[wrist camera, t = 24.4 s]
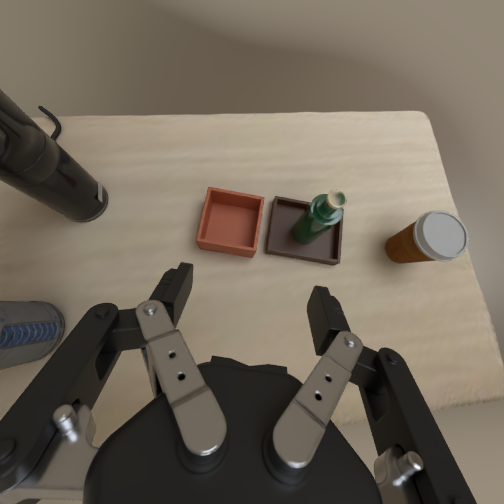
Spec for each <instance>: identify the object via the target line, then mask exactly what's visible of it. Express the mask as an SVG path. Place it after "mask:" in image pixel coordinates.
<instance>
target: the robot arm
mask: <svg viewBox="0 0 504 504" xmlns="http://www.w3.org/2000/svg"><path fill="white" fill-rule="evenodd" d="M38 108H39V109H40V110H41V111H42V112H44V113H45V114H46V115H48V116H49V117H50V118H51V119H52V120H53V121H54V122H55V124H56V129H55V131H54V132H53V134H52V135H51V137H50V136H48V135H47V134H46V133H45V132H44V131H43V130H42V129H41V128H40V127H39V126H38V125H37V124H36V123H35V122H34V121H33V120H32V119H30V118H29V117H28V116H27V115H26V114H25V113H24V112H23V111H22V110H21V109H20V108H19V107H18V106H17V105H16V104H15V103H14V102H13V101H12V100H11V99H10V98H9V97H8V96H7V95H6V94H5V93H4V92H3V91H2V90H1V89H0V180H1V181H3V182H5V183H6V184H8V185H10V186H12V187H14V188H15V189H17V190H19V191H21V192H23V193H24V194H26V195H28V196H30V197H32V198H33V199H35V200H37V201H39V202H41V203H42V204H44V205H46V206H48V207H50V208H51V209H53V210H55V211H57V212H59V213H60V214H62V215H64V216H65V217H67V218H68V219H70V220H72V221H76V222H87V221H90V220H93V219H95V218H97V217H98V216H100V215H101V214H102V213H103V211H104V210H105V209H106V207H107V204H108V194H107V191H106V190H105V188H104V187H103V186H102V185H101V184H100V183H99V182H97V181H96V180H95V179H94V178H93V177H92V176H91V175H90V174H89V173H88V172H87V171H86V170H85V169H83V168H82V167H81V166H80V165H79V164H78V163H77V162H76V161H75V160H74V159H73V158H72V157H71V156H70V155H69V154H68V153H67V152H66V151H64V150H63V149H62V148H61V147H60V146H59V145H58V144H57V143H56V142H55V139H56V137H57V136H58V134H59V133H60V130H61V125H60V123H59V121H58V120H57V118H56V117H55V116H54V115H53V114H51V113H50V112H49V111H47V110H46V109H45V108H43V107H42V106H39V107H38ZM192 282H193V264H190V263H184V262H181V263H180V265H179V267H178V269H172V268H171V269H170V270H168V271H167V272H165V274H164V275H163V277H162V279H161V280H160V282H159V284H158V285H157V287H156V288H155V290H154V291H153V293H152V295H151V296H150V298H149V300H148V301H144V302H142V303H141V304H139V305H138V306H137V308H134V309H125V310H118V307H117V306H116V305H114V304H112V303H101V304H98V305H95V306H93V307H92V308H90V309H89V310H88V311H87V313H86V314H85V315H84V316H83V318H82V319H81V320H80V321H79V323H78V324H77V325H76V326H75V328H74V329H73V330H72V331H71V333H70V334H69V335H68V336H67V338H66V339H65V340H64V342H63V343H62V344H61V345H60V347H59V348H58V349H57V350H56V352H55V353H54V354H53V355H52V357H51V358H50V359H49V360H48V362H47V363H46V364H45V365H44V367H43V368H42V369H41V370H40V372H39V373H38V374H37V376H36V377H35V378H34V379H33V381H32V382H31V383H30V384H29V386H28V387H27V388H26V389H25V391H24V392H23V393H22V394H21V396H20V397H19V398H18V399H17V401H16V402H15V403H14V405H13V406H12V407H11V408H10V410H9V411H8V412H7V413H6V415H5V416H4V417H3V418H2V420H1V421H0V504H36V503H37V502H38V501H40V500H41V499H57V500H83V504H477V503H476V501H475V499H474V497H473V495H472V493H471V491H470V489H469V487H468V485H467V483H466V481H465V479H464V477H463V475H462V473H461V471H460V469H459V467H458V465H457V463H456V461H455V459H454V457H453V455H452V453H451V451H450V449H449V447H448V445H447V443H446V441H445V439H444V437H443V435H442V434H441V432H440V430H439V428H438V426H437V424H436V422H435V420H434V418H433V416H432V414H431V412H430V410H429V408H428V406H427V404H426V402H425V400H424V398H423V396H422V394H421V392H420V390H419V388H418V386H417V384H416V382H415V380H414V378H413V376H412V374H411V372H410V370H409V368H408V366H407V364H406V362H405V360H404V359H403V358H402V357H401V356H400V355H399V354H398V353H397V352H395V351H394V350H392V349H389V348H381V349H380V350H379V351H378V352H377V351H374V350H372V349H370V348H367V347H365V346H363V344H362V342H361V340H360V339H359V338H358V337H357V336H356V335H355V334H353V333H351V331H350V328H349V326H348V323H347V320H346V318H345V315H344V313H343V310H342V308H341V305H340V303H339V301H338V300H337V299H336V298H335V297H334V296H331V295H330V293H329V290H328V288H327V287H322V286H315V287H314V289H313V291H312V294H311V296H310V298H309V301H308V304H307V314H308V319H309V324H310V328H311V333H312V338H313V342H314V347H315V352H316V355H318V356H322V357H321V359H320V360H319V362H318V363H317V365H316V366H315V368H314V369H313V371H312V372H311V374H310V375H309V377H308V378H307V380H306V381H305V383H304V384H302V383H301V382H300V381H299V380H298V379H296V378H295V377H293V376H292V375H290V374H287V367H284V366H277V365H270V364H266V365H256V366H248V365H245V364H243V363H240V362H238V361H236V360H233V359H231V358H224V357H218V356H212V358H211V362H205V363H201V364H198V365H196V363H195V361H194V359H193V357H192V355H191V353H190V351H189V349H188V347H187V345H186V343H185V340H184V338H183V336H182V334H181V332H180V331H179V330H175V328H176V326H177V323H178V321H179V319H180V316H181V314H182V311H183V309H184V306H185V304H186V302H187V299H188V297H189V294H190V292H191V288H192ZM138 348H140V350H141V353H142V356H143V359H144V362H145V366H146V369H147V372H148V375H149V379H150V384H151V389H152V392H153V396H154V399H153V400H152V401H151V402H150V403H148V404H147V405H146V406H145V407H144V408H142V409H141V410H140V411H139V412H138V413H136V414H135V415H134V416H133V417H132V418H131V419H129V420H128V421H127V422H126V423H125V424H123V425H122V426H121V427H120V428H119V429H117V430H116V431H115V432H114V433H113V434H112V435H110V436H109V437H108V438H107V439H106V441H105V442H104V443H103V444H102V445H101V447H100V448H97V447H94V446H93V445H92V442H93V438H94V435H95V431H96V424H95V421H94V418H93V416H92V413H91V410H92V408H93V406H94V404H95V402H96V400H97V398H98V396H99V394H100V392H101V391H102V389H103V387H104V385H105V383H106V381H107V379H108V377H109V375H110V373H111V371H112V369H113V368H114V366H115V364H116V362H117V360H118V358H119V356H120V354H121V352H122V351H124V350H131V349H138ZM348 381H349V382H351V383H354V384H356V385H358V387H359V390H360V394H361V397H362V401H363V404H364V408H365V411H366V415H367V418H368V422H369V425H370V429H371V432H372V436H373V439H374V443H375V446H376V450H377V453H378V458H377V459H376V460H375V462H374V474H375V479H374V477H373V476H372V474H371V472H370V471H369V469H368V468H367V466H366V465H365V464H364V462H363V461H362V460H361V459H360V457H359V456H358V455H357V453H356V452H355V451H354V449H353V448H352V447H351V446H350V444H349V443H348V442H347V440H346V439H345V438H344V436H343V435H342V434H341V432H340V431H339V430H338V428H337V427H336V426H335V425H334V423H333V422H332V421H331V419H330V418H331V416H332V414H333V412H334V410H335V408H336V406H337V404H338V402H339V400H340V397H341V395H342V393H343V391H344V389H345V387H346V385H347V383H348Z"/></svg>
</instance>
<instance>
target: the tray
mask: <svg viewBox="0 0 504 504" xmlns="http://www.w3.org/2000/svg"><path fill="white" fill-rule="evenodd" d="M309 204H310V202H305V201H299V200H294V199H289V198H283V197H278V196H275V198H274V201H273V206H272V213H271V220H270V226H269V233H268V240H267V247H266V253H267V254H273V255H279V256H284V257H290V258H296V259H302V260H307V261H313V262H319V263H324V264H330V265H336V264H339V263H340V256H341V240H342V225H343V215H342V218H341V219H340V221H339V222H338V223H336V224H335V225H334V226H332V227H331V228H330V229H329V230H327V231H326V232H325V233H324V234H322V235H321V236H320V237H319V238H317V239H316V240H315V241H314V242H312V243H311V244H308V245H302V244H299V243H297V242H296V241H295V240H294V238H293V236H292V227H293V225H294V224H295V223H296V221H297V220H298V219H299V217H300V216H301V215H302V214H303V212H304V211H305V210H306V208H307V207H308V206H309ZM343 210H344V209H343Z"/></svg>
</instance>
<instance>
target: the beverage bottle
mask: <svg viewBox="0 0 504 504" xmlns="http://www.w3.org/2000/svg"><path fill="white" fill-rule="evenodd" d="M63 332H64V319H63V316H62V314H61V313H60V312H59V310H58V309H57V308H56V307H55V306H53V305H51V304H49V303H46V302H40V301H30V302H14V301H0V370H1V369H5V368H8V367H12V366H16V365H19V364H23V363H28V362H32V361H35V360H38V359H41V358H42V357H44V356H46V355H47V354H49V353H50V352H51V351H52V350H53V349H54V348H55V347H56V346H57V344H58V343H59V341H60V340H61V338H62V335H63Z"/></svg>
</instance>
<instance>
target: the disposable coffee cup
mask: <svg viewBox="0 0 504 504" xmlns="http://www.w3.org/2000/svg"><path fill="white" fill-rule="evenodd" d="M468 242H469V236H468V232H467V229H466V228H465V226H464V224H463V222H462V221H461V220H460V219H459V218H458V217H457V216H455V215H453V214H452V213H449V212H446V211H430V212H427V213H424V214H423V215H421V216H420V217H419V218H418V220H417V221H416V222H414V223H413V224H411V225H409V226H408V227H406V228H405V229H403V230H402V231H400V232H399V233H397V234H396V235H394V236H393V237H391V238H390V239H388V241H387V242H386V246H385V249H386V253H387V255H388V257H389V258H390V259H391V260H392V261H394V262H396V263H411V262H423V261H435V260H438V261H451V260H454V259H456V258H457V257H458V256H460V255H461V254H462V253H464V252H465V250H466V249H467V246H468Z"/></svg>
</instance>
